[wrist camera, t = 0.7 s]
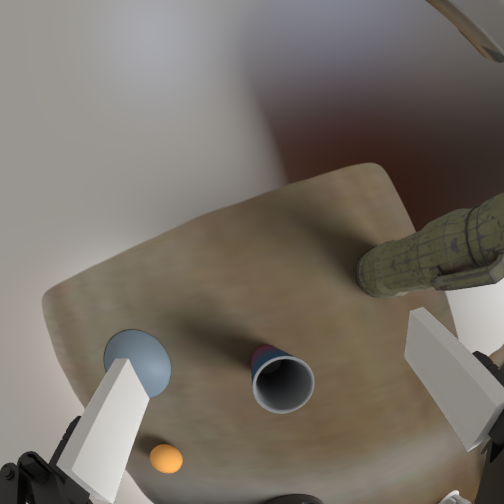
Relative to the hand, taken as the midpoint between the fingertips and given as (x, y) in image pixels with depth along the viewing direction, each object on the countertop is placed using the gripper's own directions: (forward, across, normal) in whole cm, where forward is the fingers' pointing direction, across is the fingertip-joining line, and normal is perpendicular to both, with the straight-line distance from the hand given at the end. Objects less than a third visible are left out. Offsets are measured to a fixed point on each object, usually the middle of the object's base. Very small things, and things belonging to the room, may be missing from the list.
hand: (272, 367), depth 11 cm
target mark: (+24, +23, +17) cm, 37 cm away
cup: (+26, +2, +20) cm, 33 cm away
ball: (+14, +21, +31) cm, 40 cm away
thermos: (+33, -20, +12) cm, 41 cm away
